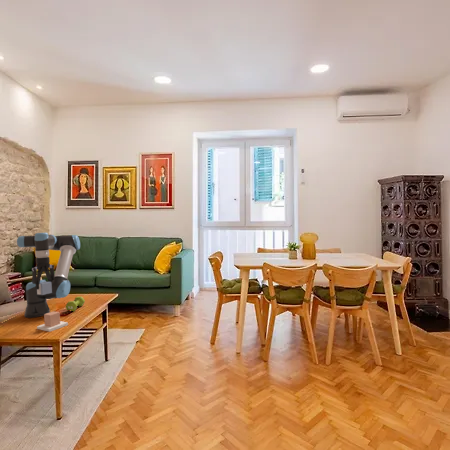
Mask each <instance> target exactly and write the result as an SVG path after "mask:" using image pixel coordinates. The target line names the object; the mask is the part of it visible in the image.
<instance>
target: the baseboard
mask: <svg viewBox="0 0 450 450" xmlns="http://www.w3.org/2000/svg"><path fill="white" fill-rule="evenodd" d="M66 326H69V322H67V321H62V320H60V324H58V325H55V326H52V327H49V326H45V323H43V324H40V325H38V326H36V329H37V330H41V331H45V332H50V333H51V332H54V331H56V330H58V329H61V328H64V327H66Z"/></svg>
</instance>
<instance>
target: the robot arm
mask: <svg viewBox="0 0 450 450" xmlns="http://www.w3.org/2000/svg"><path fill="white" fill-rule="evenodd" d="M16 244H17V246H18V247H19V248H34V249H35V250H34V251H35V257H36V258H35V265H36V266H35V267H31V272H32V273H31V274H32V276H31V280H32V281H31V282H28V283H27V284H26V285H25V292H26V293H25V295H26V307H25V310H24V318H27V319H29V318H30V319H31V318H33V319H34V318H39V317H40V318H41V317H42V316H43V317H44V314H46V313H50V312H51V309H50V307H49V305H48V302H47V299H48V300H49V299H62V298H66V297H68V296H69V294H70V291H71V282H70V280H69V279H68V275H69V272H70V268H71V264H72V261H73V257H74V255H75V254H76V252H77V250H78V251H79V250H80V249H81V241H80V238H79V236H78V235H76V234H71V235H69V234H68V235H54V234H49V233H48V232H36V233H35V234H34V235H21V236H18V237H17V240H16ZM50 251H59V252H60V254H59V258H58V262H57V265H56V269H55V265H54V264H50V261H51V260H50ZM43 272H44V273H45V275H46V279H47V282H51V284H52V293H49V294H45V295H40V294H41V284H39V283H40V282H45V281H46V279H41V278H42V274H43Z"/></svg>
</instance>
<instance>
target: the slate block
mask: <svg viewBox="0 0 450 450" xmlns="http://www.w3.org/2000/svg"><path fill="white" fill-rule="evenodd" d="M39 284H41V294H40V295H45V294H49V293H52V284H51V282H49V281H48V280H47V281H46V280H45V282H40V283H39Z"/></svg>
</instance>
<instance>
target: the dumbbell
mask: <svg viewBox="0 0 450 450" xmlns="http://www.w3.org/2000/svg"><path fill="white" fill-rule="evenodd" d="M84 304H85V299H84V297H83V296H76V297H75V298H74V300H72V301H71V300H70V301H68V302H66V305H65V309H66V311H67V310H71V311H73V312H75V311H76V310H77V308H78V307H77V306H79V307H83V306H84ZM73 312H72V313H73Z"/></svg>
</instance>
